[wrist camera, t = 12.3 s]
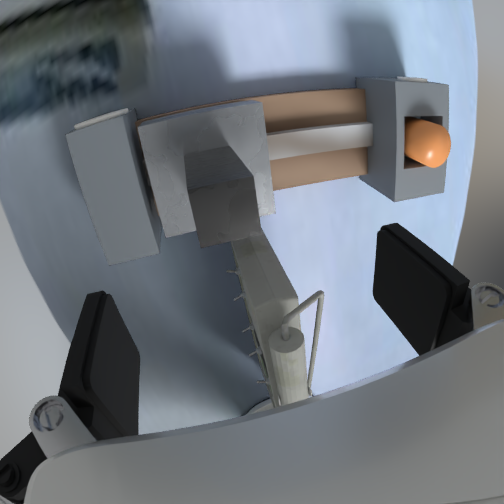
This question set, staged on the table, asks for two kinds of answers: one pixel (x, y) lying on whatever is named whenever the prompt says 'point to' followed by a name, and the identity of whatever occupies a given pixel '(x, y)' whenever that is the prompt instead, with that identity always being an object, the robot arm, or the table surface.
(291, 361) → the geiger counter
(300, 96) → the rail base
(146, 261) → the table surface
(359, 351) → the table surface
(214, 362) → the table surface
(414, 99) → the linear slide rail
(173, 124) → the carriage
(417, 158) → the button
